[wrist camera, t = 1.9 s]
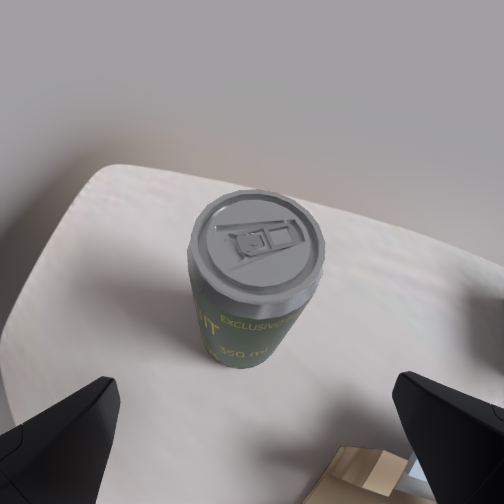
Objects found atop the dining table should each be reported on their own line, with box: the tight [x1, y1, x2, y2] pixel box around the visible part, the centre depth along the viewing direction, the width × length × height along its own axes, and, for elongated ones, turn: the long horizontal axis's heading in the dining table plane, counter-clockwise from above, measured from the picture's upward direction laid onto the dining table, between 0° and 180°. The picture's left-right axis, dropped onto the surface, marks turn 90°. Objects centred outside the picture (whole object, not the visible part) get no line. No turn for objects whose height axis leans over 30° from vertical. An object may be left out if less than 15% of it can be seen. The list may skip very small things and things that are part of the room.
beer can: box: [187, 189, 325, 369], centre depth 16 cm, size 5×5×12 cm
